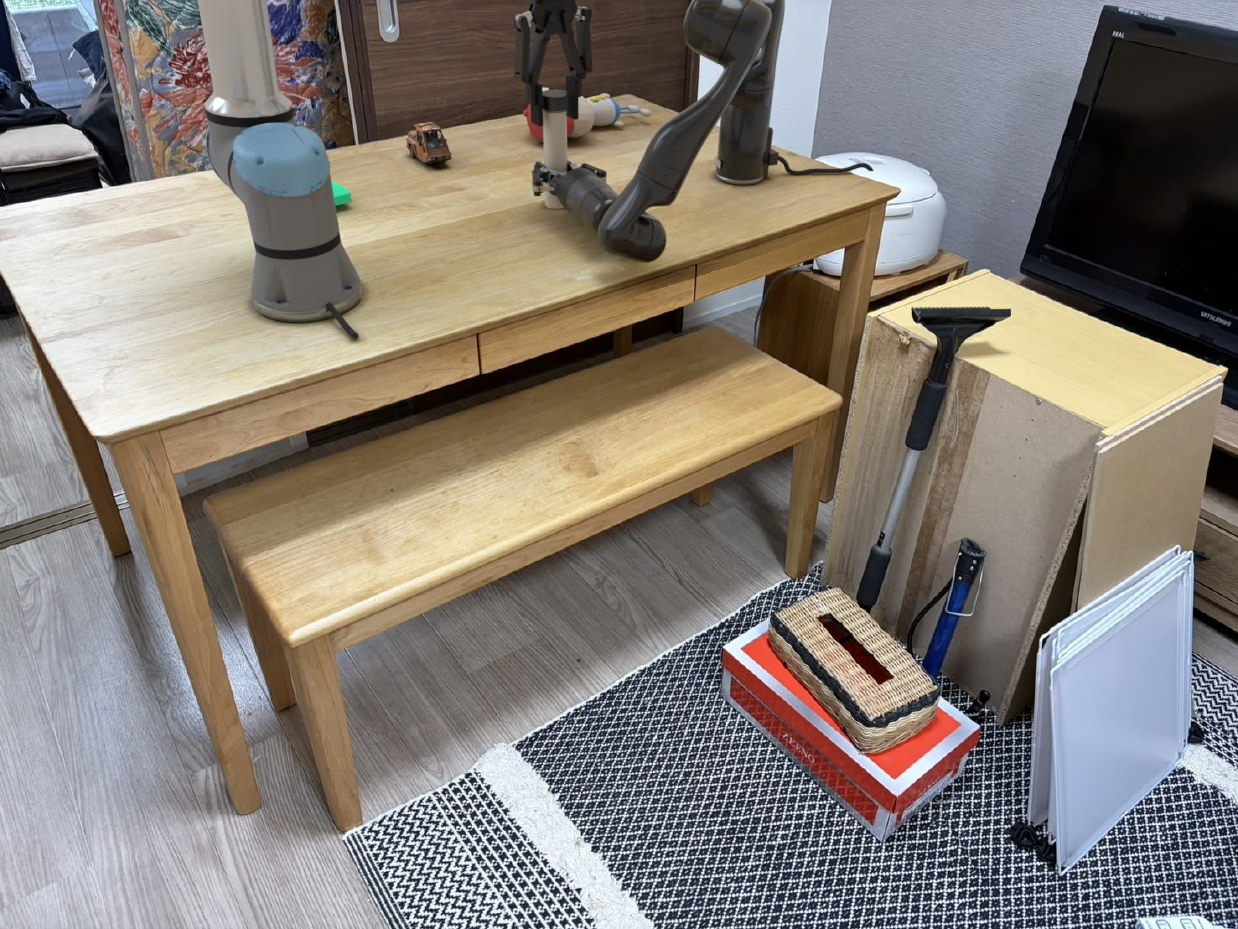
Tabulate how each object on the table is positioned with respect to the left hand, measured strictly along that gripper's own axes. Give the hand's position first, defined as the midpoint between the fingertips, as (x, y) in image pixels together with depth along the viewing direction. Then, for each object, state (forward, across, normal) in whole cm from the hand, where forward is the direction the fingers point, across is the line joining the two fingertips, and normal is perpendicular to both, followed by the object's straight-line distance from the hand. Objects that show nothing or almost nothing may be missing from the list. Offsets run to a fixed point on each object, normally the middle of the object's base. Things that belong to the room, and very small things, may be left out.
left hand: (554, 120), depth 157 cm
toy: (+15, -28, -32) cm, 45 cm away
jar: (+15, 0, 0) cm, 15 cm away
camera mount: (+15, +36, -23) cm, 45 cm away
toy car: (+15, +9, -33) cm, 37 cm away
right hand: (+9, 0, -3) cm, 9 cm away
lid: (-4, 0, 0) cm, 4 cm away
